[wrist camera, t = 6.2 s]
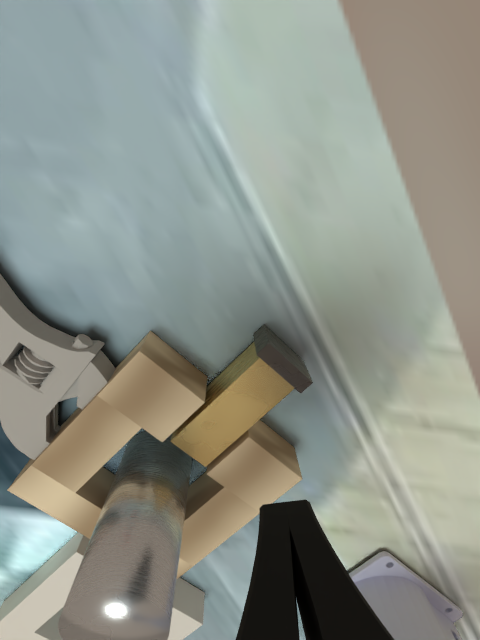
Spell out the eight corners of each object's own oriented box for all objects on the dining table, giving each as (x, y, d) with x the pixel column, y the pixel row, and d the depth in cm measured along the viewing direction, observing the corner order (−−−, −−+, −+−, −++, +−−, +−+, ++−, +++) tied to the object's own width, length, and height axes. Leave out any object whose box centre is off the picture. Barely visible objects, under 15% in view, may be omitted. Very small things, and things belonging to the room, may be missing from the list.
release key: (303, 360, 19) (313, 382, 17) (211, 442, 21) (209, 472, 19) (263, 324, 19) (269, 343, 16) (172, 412, 20) (165, 440, 18)
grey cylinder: (206, 455, 22) (192, 625, 13) (163, 493, 23) (124, 676, 14) (153, 417, 21) (102, 575, 12) (111, 458, 22) (35, 633, 13)
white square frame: (204, 592, 26) (202, 624, 24) (118, 658, 28) (110, 692, 26) (88, 522, 23) (76, 552, 21) (3, 601, 25) (-15, 634, 24)
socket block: (294, 447, 22) (302, 479, 19) (174, 547, 24) (168, 585, 22) (150, 330, 19) (139, 350, 17) (31, 456, 21) (7, 490, 19)
